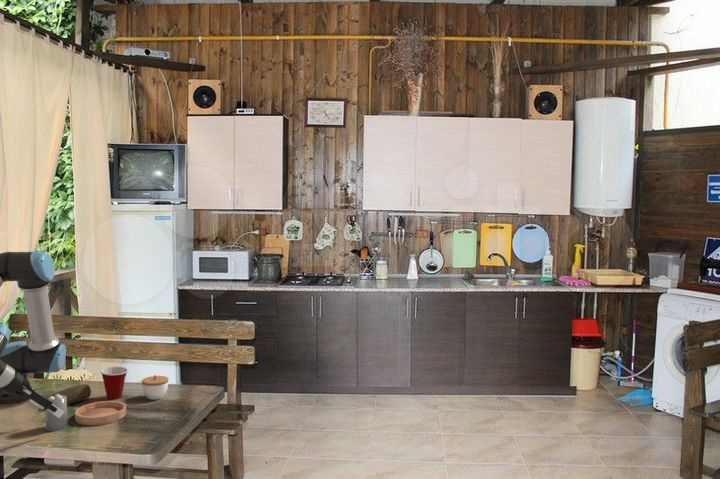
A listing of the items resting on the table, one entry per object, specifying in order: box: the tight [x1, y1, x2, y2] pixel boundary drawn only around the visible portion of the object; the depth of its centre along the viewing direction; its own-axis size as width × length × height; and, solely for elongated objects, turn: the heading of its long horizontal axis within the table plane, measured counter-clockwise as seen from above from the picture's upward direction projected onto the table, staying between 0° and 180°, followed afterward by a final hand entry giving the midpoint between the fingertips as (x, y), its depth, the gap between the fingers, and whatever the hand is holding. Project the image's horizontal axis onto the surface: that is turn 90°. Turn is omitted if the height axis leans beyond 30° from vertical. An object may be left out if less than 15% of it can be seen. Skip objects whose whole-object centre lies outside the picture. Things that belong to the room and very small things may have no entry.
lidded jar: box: [141, 374, 169, 401], centre depth 252 cm, size 11×11×9 cm
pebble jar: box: [45, 394, 68, 432], centre depth 218 cm, size 7×7×12 cm
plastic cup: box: [100, 366, 129, 400], centre depth 252 cm, size 11×11×12 cm
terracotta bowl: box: [74, 400, 127, 426], centre depth 230 cm, size 18×18×3 cm
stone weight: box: [52, 383, 92, 406], centre depth 244 cm, size 15×7×7 cm, turn 150°
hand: (53, 410), depth 216 cm, fingers open, 13 cm apart
